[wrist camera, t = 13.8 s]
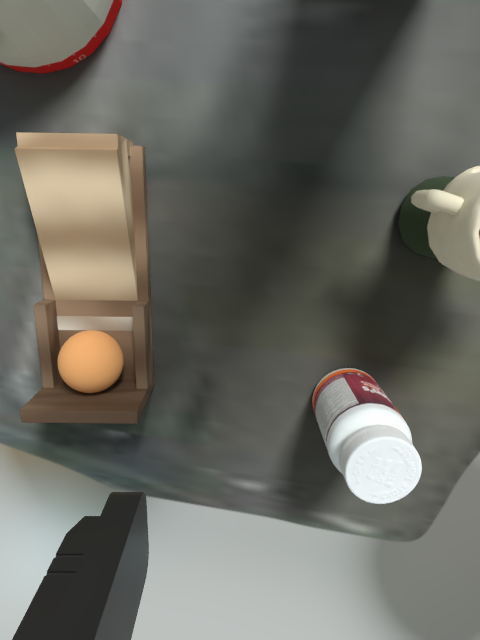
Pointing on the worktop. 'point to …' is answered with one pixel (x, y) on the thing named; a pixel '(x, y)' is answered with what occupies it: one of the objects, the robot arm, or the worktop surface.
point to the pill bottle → (366, 436)
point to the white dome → (52, 32)
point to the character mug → (445, 221)
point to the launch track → (90, 267)
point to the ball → (90, 361)
